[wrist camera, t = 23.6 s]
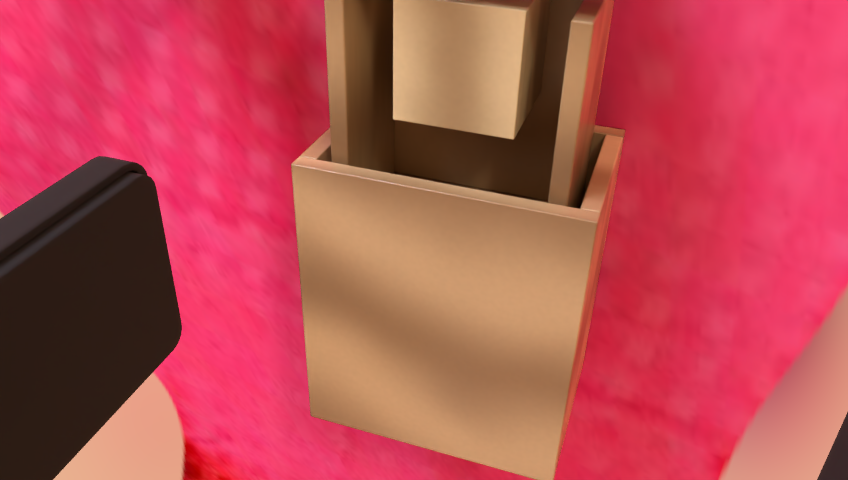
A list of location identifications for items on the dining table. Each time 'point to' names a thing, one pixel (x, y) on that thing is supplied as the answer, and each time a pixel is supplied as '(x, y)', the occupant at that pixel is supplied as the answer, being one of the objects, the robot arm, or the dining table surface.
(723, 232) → the dining table surface
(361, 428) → the cabinet
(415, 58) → the block
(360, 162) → the drawer
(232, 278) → the dining table surface
